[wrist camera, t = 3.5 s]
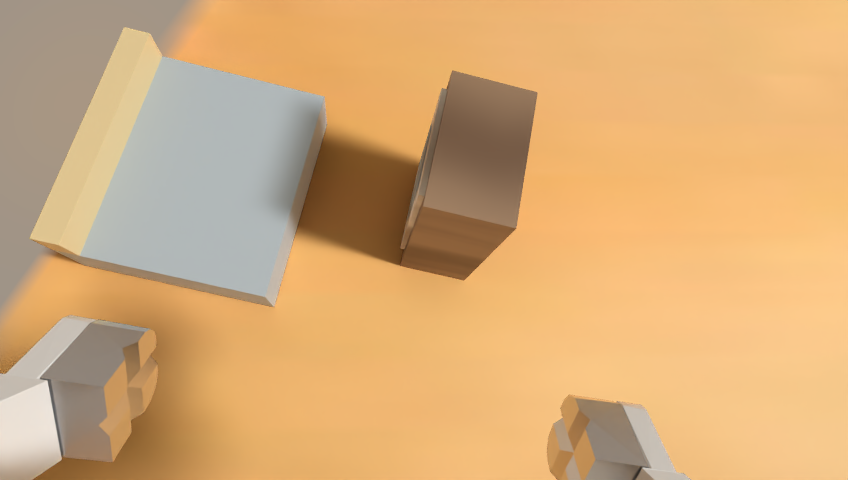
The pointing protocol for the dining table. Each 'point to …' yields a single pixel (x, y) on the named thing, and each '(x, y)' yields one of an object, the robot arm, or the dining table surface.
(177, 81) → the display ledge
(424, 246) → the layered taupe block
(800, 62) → the dining table surface
